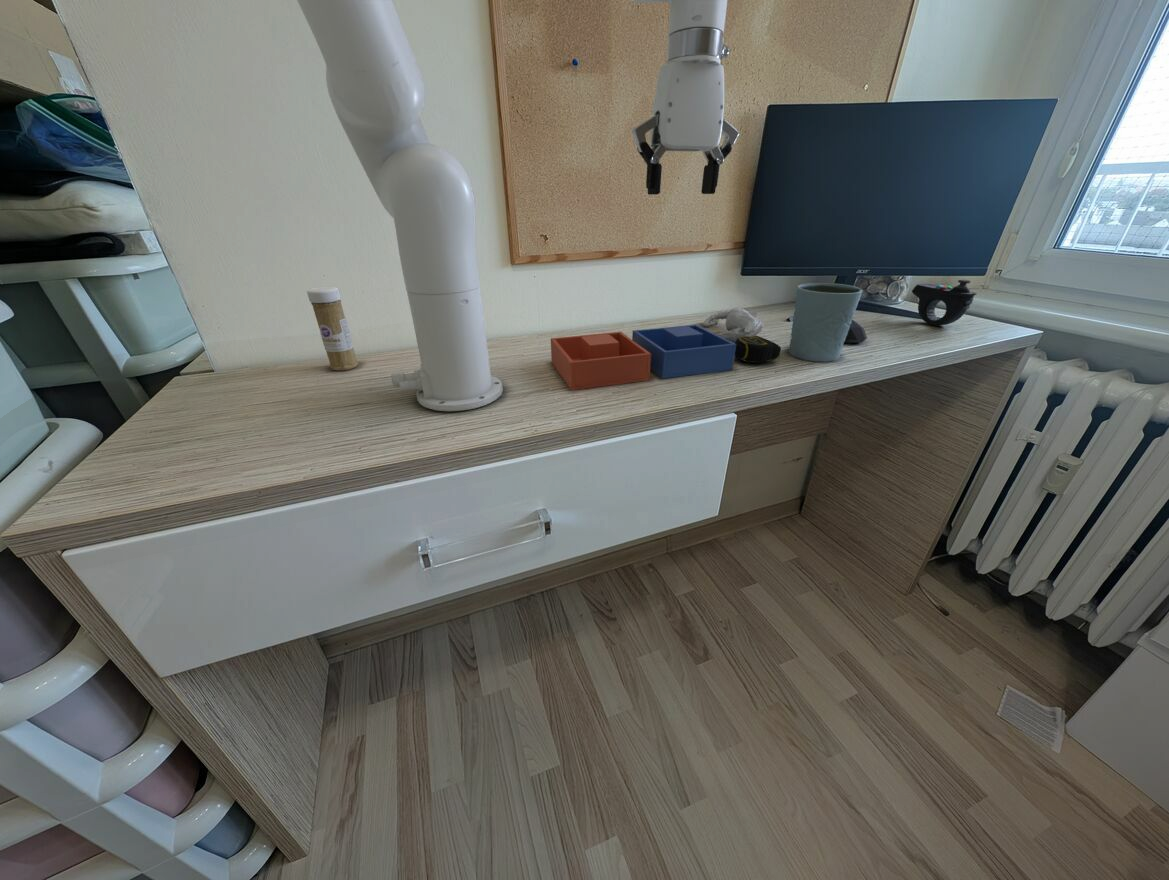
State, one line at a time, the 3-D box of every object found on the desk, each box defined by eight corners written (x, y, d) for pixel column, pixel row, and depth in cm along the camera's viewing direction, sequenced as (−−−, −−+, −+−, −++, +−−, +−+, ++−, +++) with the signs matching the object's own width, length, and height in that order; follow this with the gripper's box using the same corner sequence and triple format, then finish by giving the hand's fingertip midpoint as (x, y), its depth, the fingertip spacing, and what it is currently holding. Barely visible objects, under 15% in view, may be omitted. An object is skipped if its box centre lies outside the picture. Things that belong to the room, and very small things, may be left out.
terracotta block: (590, 374, 71) (590, 345, 69) (581, 364, 76) (581, 336, 73) (618, 371, 73) (619, 342, 70) (608, 361, 77) (608, 334, 74)
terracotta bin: (571, 390, 67) (570, 362, 65) (551, 362, 78) (550, 338, 76) (649, 380, 70) (651, 353, 68) (620, 355, 81) (620, 331, 79)
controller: (950, 331, 93) (970, 283, 88) (899, 318, 104) (914, 273, 99) (965, 329, 95) (986, 281, 90) (913, 316, 105) (929, 272, 100)
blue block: (673, 364, 75) (676, 336, 73) (661, 355, 80) (663, 328, 77) (699, 361, 77) (703, 333, 74) (685, 353, 81) (688, 326, 78)
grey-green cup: (846, 365, 76) (868, 294, 70) (784, 359, 79) (800, 291, 73) (837, 348, 84) (856, 283, 78) (781, 343, 87) (795, 280, 81)
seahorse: (682, 320, 99) (736, 330, 81) (724, 298, 100) (786, 303, 82) (688, 341, 101) (741, 355, 83) (729, 319, 103) (791, 329, 85)
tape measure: (780, 364, 77) (784, 343, 75) (747, 368, 75) (751, 347, 73) (755, 352, 82) (759, 332, 81) (724, 356, 81) (727, 336, 79)
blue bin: (662, 378, 71) (664, 352, 69) (631, 354, 82) (632, 330, 80) (732, 369, 74) (736, 344, 72) (693, 347, 85) (696, 324, 83)
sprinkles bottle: (326, 371, 75) (300, 291, 68) (338, 362, 79) (314, 285, 72) (352, 371, 75) (329, 290, 68) (363, 362, 79) (342, 285, 72)
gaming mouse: (818, 324, 99) (823, 306, 97) (872, 343, 87) (879, 323, 85) (795, 327, 97) (799, 308, 95) (847, 346, 85) (853, 326, 83)
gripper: (732, 64, 66) (715, 193, 75) (626, 56, 62) (622, 194, 70) (763, 51, 60) (741, 193, 68) (648, 41, 56) (640, 194, 64)
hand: (681, 194), depth 69 cm, fingers open, 9 cm apart
